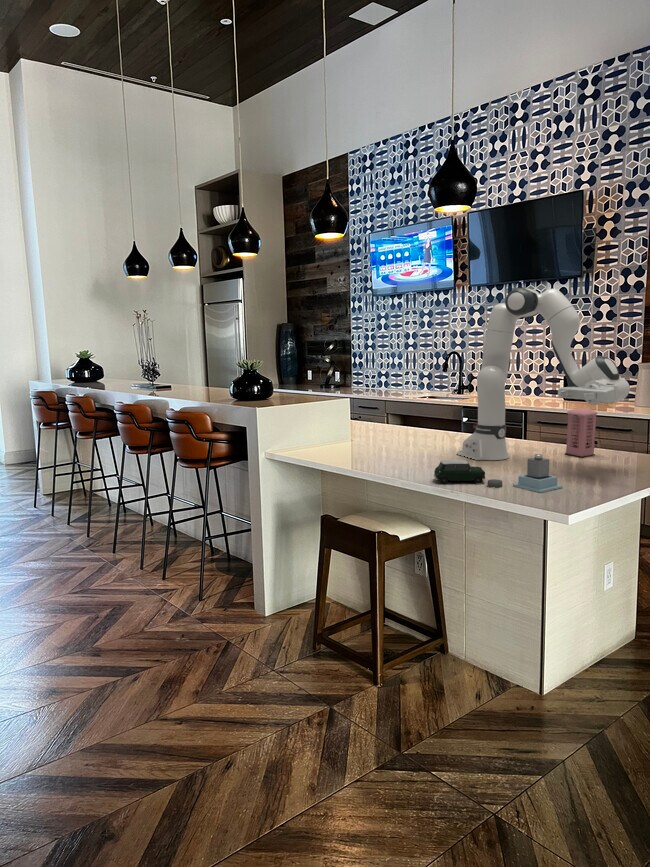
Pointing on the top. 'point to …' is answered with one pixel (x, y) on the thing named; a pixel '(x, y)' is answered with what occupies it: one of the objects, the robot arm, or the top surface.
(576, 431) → the pink vented box
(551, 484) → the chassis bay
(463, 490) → the top surface
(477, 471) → the miniature car
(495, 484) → the dark grey rounded pebble
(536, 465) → the grey knobbed metal block
